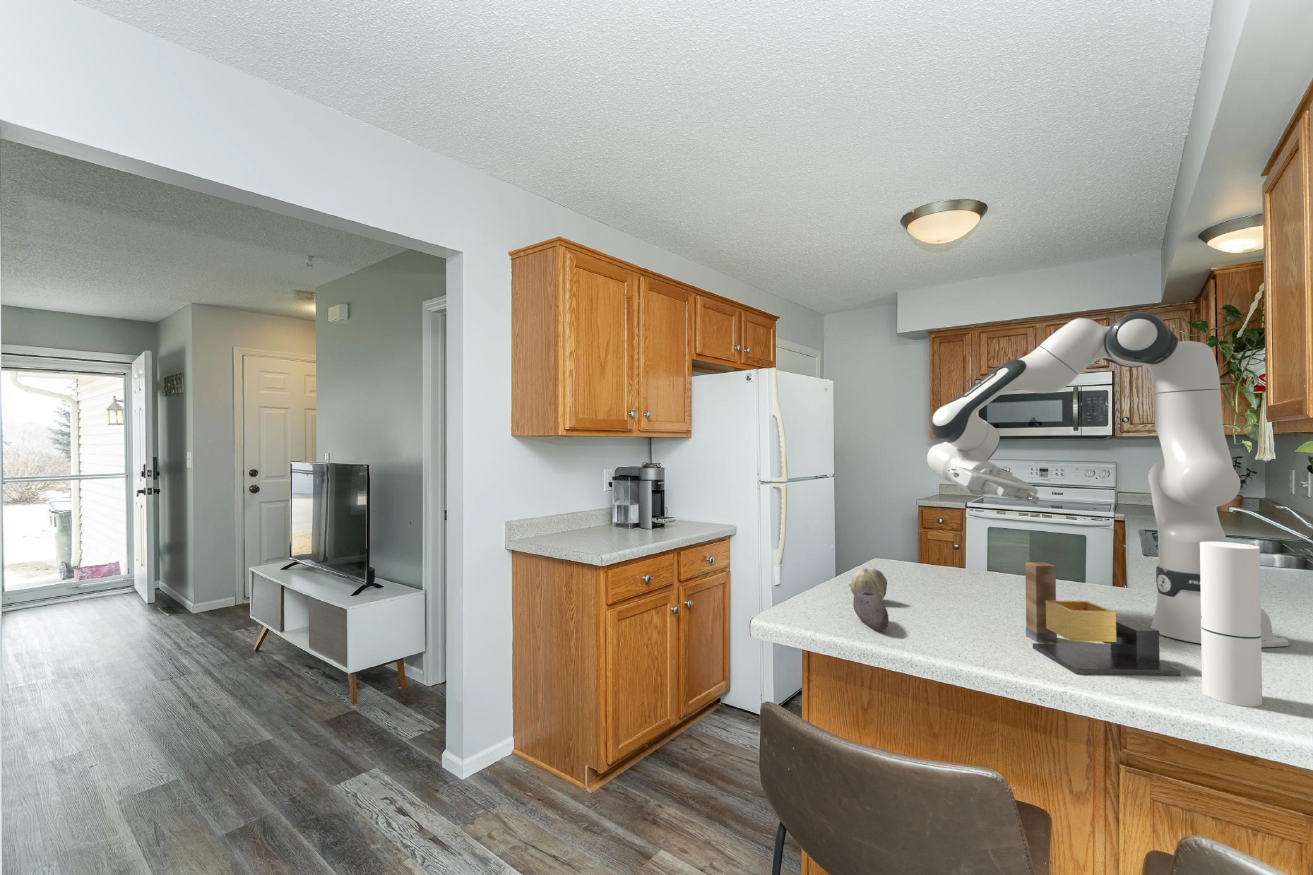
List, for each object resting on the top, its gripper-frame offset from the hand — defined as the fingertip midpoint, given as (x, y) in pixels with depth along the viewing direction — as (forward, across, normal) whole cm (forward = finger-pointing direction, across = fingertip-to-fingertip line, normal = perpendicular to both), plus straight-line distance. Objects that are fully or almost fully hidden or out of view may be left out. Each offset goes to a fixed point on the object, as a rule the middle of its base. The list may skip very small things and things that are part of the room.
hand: (1021, 497), depth 137 cm
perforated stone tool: (0, -25, +38) cm, 45 cm away
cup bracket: (+29, +2, +22) cm, 37 cm away
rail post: (+16, +3, +26) cm, 31 cm away
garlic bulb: (-19, -13, +41) cm, 47 cm away
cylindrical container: (+46, +6, +16) cm, 49 cm away
